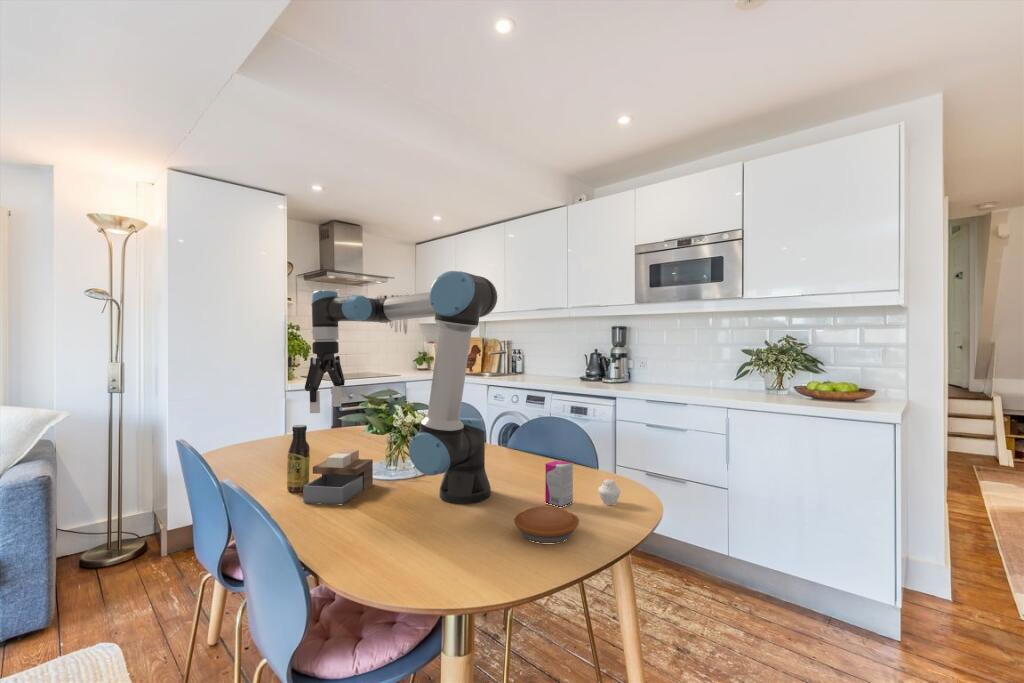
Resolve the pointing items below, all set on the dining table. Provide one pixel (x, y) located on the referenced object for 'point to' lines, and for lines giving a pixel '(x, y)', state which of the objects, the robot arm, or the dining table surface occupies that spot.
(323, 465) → the plate
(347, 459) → the cream tile
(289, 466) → the sauce bottle
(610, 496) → the small white jar
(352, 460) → the salmon pink square block
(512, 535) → the dining table surface
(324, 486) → the bin
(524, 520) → the pie
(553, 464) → the supplement box
